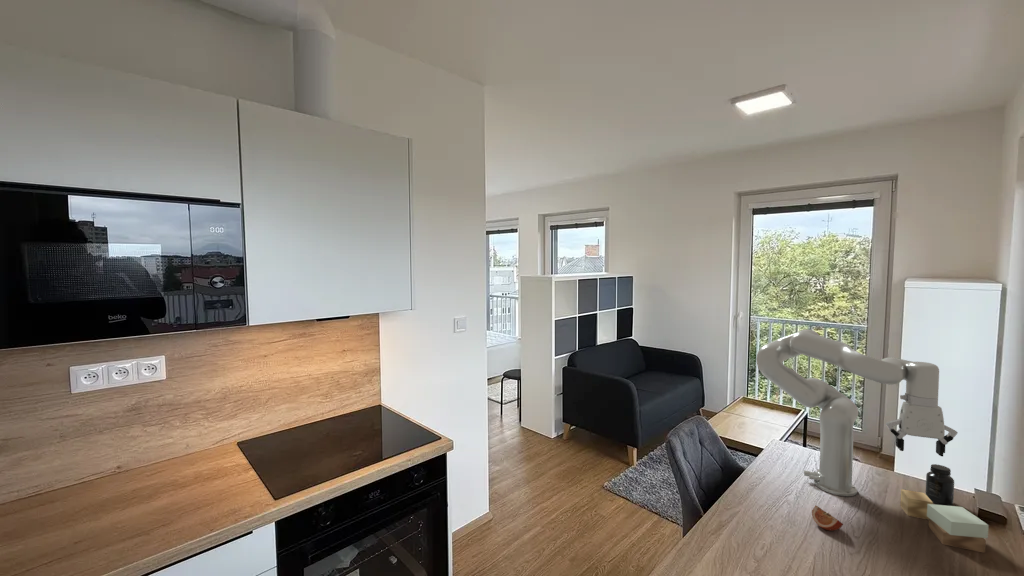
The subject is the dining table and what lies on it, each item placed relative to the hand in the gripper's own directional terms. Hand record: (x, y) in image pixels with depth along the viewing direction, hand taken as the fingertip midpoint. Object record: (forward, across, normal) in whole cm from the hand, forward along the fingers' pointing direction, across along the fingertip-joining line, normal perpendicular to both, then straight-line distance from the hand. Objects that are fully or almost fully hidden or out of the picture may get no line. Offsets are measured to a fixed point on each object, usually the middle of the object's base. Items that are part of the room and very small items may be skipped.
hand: (919, 451), depth 138 cm
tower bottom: (+21, +5, -12) cm, 25 cm away
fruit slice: (+21, -28, -21) cm, 41 cm away
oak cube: (+21, 0, 0) cm, 21 cm away
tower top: (+17, +5, -12) cm, 21 cm away
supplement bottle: (+21, +10, +12) cm, 26 cm away
